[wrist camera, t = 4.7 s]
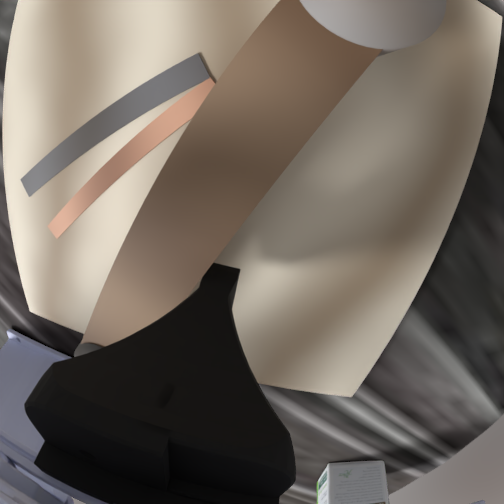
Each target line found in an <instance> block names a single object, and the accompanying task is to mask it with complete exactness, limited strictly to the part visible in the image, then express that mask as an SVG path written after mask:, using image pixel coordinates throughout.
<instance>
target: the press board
mask: <svg viewBox="0 0 504 504" xmlns="http://www.w3.org/2000/svg"><path fill="white" fill-rule="evenodd" d="M279 1H280V0H18V4H17V8H16V12H15V17H14V22H13V26H12V32H11V37H10V43H9V50H8V57H7V65H6V74H5V85H4V99H3V162H4V177H5V188H6V198H7V206H8V214H9V221H10V227H11V233H12V239H13V244H14V249H15V254H16V259H17V264H18V268H19V273H20V277H21V281H22V285H23V289H24V292H25V296H26V300H27V303H28V306H29V310H30V312H32V313H34V314H37V315H39V316H41V317H44V318H46V319H48V320H51V321H53V322H55V323H58V324H60V325H63V326H65V327H68V328H70V329H73V330H75V331H78V332H80V333H83V334H84V333H85V331H86V328H87V325H88V323H89V320H90V318H91V315H92V313H93V310H94V308H95V305H96V303H97V300H98V298H99V295H100V293H101V291H102V288H103V286H104V284H105V281H106V279H107V277H108V274H109V272H110V270H111V268H112V266H113V263H114V261H115V259H116V257H117V255H118V252H119V250H120V248H121V246H122V244H123V242H124V240H125V238H126V236H127V234H128V232H129V230H130V228H131V226H132V224H133V222H134V220H135V218H136V216H137V214H138V212H139V210H140V208H141V206H142V204H143V202H144V200H145V198H146V196H147V195H148V193H149V191H150V189H151V187H152V185H153V184H154V182H155V180H156V178H157V176H158V175H159V173H160V171H161V169H162V168H163V166H164V164H165V162H166V161H167V159H168V157H169V155H170V154H171V152H172V150H173V149H174V147H175V145H176V144H177V142H178V140H179V139H180V137H181V135H182V134H183V132H184V131H185V129H186V127H187V126H188V124H189V123H190V121H191V119H192V118H193V116H194V115H195V113H196V112H197V110H198V109H199V107H200V106H201V104H202V103H203V101H204V100H205V98H206V97H207V95H208V94H209V92H210V91H211V89H212V88H213V86H214V85H215V83H216V82H217V81H218V79H219V78H220V76H221V75H222V73H223V72H224V71H225V69H226V68H227V67H228V65H229V64H230V62H231V61H232V60H233V58H234V57H235V56H236V54H237V53H238V52H239V50H240V49H241V48H242V46H243V45H244V44H245V42H246V41H247V40H248V39H249V37H250V36H251V35H252V33H253V32H254V31H255V30H256V28H257V27H258V26H259V25H260V23H261V22H262V21H263V20H264V19H265V17H266V16H267V15H268V14H269V13H270V11H271V10H272V9H273V8H274V7H275V5H276V4H277V3H278V2H279ZM501 27H502V16H500V15H499V14H497V13H496V12H494V11H493V10H491V9H490V8H488V7H487V6H485V5H484V4H482V3H481V2H479V1H477V0H446V11H445V15H444V18H443V20H442V23H441V25H440V26H439V28H438V29H437V30H436V31H435V32H434V33H433V34H432V35H431V36H430V37H429V38H427V39H426V40H424V41H422V42H420V43H418V44H416V45H412V46H409V47H406V48H403V49H400V50H397V51H394V52H391V53H388V54H385V55H382V56H379V57H377V58H375V59H374V61H373V62H372V63H371V64H370V65H369V67H368V68H367V69H366V70H365V71H364V73H363V74H362V75H361V76H360V77H359V79H358V80H357V81H356V82H355V83H354V85H353V86H352V87H351V88H350V90H349V91H348V92H347V93H346V94H345V96H344V97H343V98H342V99H341V101H340V102H339V103H338V104H337V105H336V107H335V108H334V109H333V110H332V112H331V113H330V114H329V115H328V116H327V118H326V119H325V120H324V121H323V123H322V124H321V125H320V126H319V128H318V129H317V130H316V131H315V133H314V134H313V135H312V136H311V138H310V139H309V140H308V141H307V143H306V144H305V145H304V146H303V148H302V149H301V150H300V151H299V153H298V154H297V155H296V156H295V158H294V159H293V160H292V161H291V163H290V164H289V165H288V166H287V168H286V169H285V170H284V172H283V173H282V174H281V175H280V177H279V178H278V179H277V180H276V182H275V183H274V184H273V186H272V187H271V188H270V189H269V191H268V192H267V193H266V194H265V196H264V197H263V198H262V200H261V201H260V202H259V203H258V205H257V206H256V207H255V209H254V210H253V211H252V213H251V214H250V215H249V216H248V218H247V219H246V220H245V222H244V223H243V224H242V225H241V227H240V228H239V229H238V231H237V232H236V233H235V235H234V236H233V237H232V239H231V240H230V241H229V242H228V244H227V245H226V246H225V248H224V249H223V250H222V252H221V253H220V254H219V256H218V257H217V258H216V260H215V261H214V262H213V263H218V264H222V265H226V266H230V267H234V268H239V269H241V270H240V274H239V279H238V284H237V288H236V293H235V298H234V302H233V307H232V312H233V317H234V321H235V325H236V329H237V333H238V336H239V340H240V343H241V345H242V348H243V351H244V354H245V356H246V359H247V361H248V364H249V366H250V368H251V370H252V372H253V374H254V376H255V378H256V380H257V382H258V383H260V384H265V385H271V386H276V387H282V388H288V389H294V390H301V391H307V392H314V393H321V394H329V395H337V396H346V397H352V396H353V394H354V393H355V392H356V390H357V389H358V388H359V386H360V385H361V383H362V382H363V380H364V379H365V378H366V376H367V375H368V373H369V372H370V370H371V369H372V367H373V366H374V364H375V363H376V361H377V360H378V358H379V357H380V355H381V353H382V352H383V350H384V349H385V347H386V346H387V344H388V342H389V341H390V339H391V337H392V336H393V334H394V332H395V331H396V329H397V327H398V326H399V324H400V322H401V321H402V319H403V317H404V315H405V314H406V312H407V310H408V308H409V307H410V305H411V303H412V301H413V299H414V297H415V296H416V294H417V292H418V290H419V288H420V286H421V284H422V282H423V280H424V278H425V276H426V274H427V272H428V270H429V268H430V266H431V264H432V262H433V260H434V258H435V256H436V254H437V252H438V249H439V247H440V245H441V243H442V241H443V238H444V236H445V234H446V231H447V229H448V227H449V224H450V222H451V220H452V217H453V215H454V212H455V210H456V207H457V205H458V202H459V200H460V197H461V194H462V192H463V189H464V186H465V183H466V181H467V178H468V175H469V172H470V169H471V166H472V163H473V160H474V157H475V153H476V150H477V147H478V143H479V140H480V137H481V133H482V129H483V126H484V122H485V118H486V114H487V110H488V106H489V101H490V97H491V92H492V87H493V82H494V77H495V71H496V65H497V59H498V52H499V45H500V37H501ZM201 279H202V278H201ZM200 282H201V280H200V281H199V282H198V284H197V285H196V286H195V288H194V289H193V290H192V292H191V293H190V294H189V296H190V295H191V294H192V293H193V292H195V291H196V290H197V289H198V288H199V285H200ZM189 296H188V297H189ZM188 297H187V298H188ZM187 298H186V299H187Z"/></svg>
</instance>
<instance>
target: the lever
mask: <svg viewBox="0 0 504 504" xmlns="http://www.w3.org/2000/svg"><path fill="white" fill-rule="evenodd" d="M445 11H446V0H280V1H279V2H278V3H277V4H276V5H275V7H274V8H273V9H272V10H271V11H270V13H269V14H268V15H267V16H266V17H265V19H264V20H263V21H262V22H261V23H260V25H259V26H258V27H257V28H256V30H255V31H254V32H253V33H252V35H251V36H250V37H249V39H248V40H247V41H246V42H245V44H244V45H243V46H242V48H241V49H240V50H239V52H238V53H237V54H236V56H235V57H234V58H233V60H232V61H231V62H230V64H229V65H228V67H227V68H226V69H225V71H224V72H223V73H222V75H221V76H220V78H219V79H218V81H217V82H216V83H215V85H214V86H213V88H212V89H211V91H210V92H209V94H208V95H207V97H206V98H205V100H204V101H203V103H202V104H201V106H200V107H199V109H198V110H197V112H196V113H195V115H194V116H193V118H192V119H191V121H190V123H189V124H188V126H187V127H186V129H185V131H184V132H183V134H182V135H181V137H180V139H179V140H178V142H177V144H176V145H175V147H174V149H173V150H172V152H171V154H170V155H169V157H168V159H167V161H166V162H165V164H164V166H163V168H162V169H161V171H160V173H159V175H158V176H157V178H156V180H155V182H154V184H153V185H152V187H151V189H150V191H149V193H148V195H147V196H146V198H145V200H144V202H143V204H142V206H141V208H140V210H139V212H138V214H137V216H136V218H135V220H134V222H133V224H132V226H131V228H130V230H129V232H128V234H127V236H126V238H125V240H124V242H123V244H122V246H121V248H120V250H119V252H118V255H117V257H116V259H115V261H114V263H113V266H112V268H111V270H110V272H109V274H108V277H107V279H106V281H105V284H104V286H103V288H102V291H101V293H100V295H99V298H98V300H97V303H96V305H95V308H94V310H93V313H92V315H91V318H90V320H89V323H88V325H87V328H86V331H85V333H84V336H83V339H82V341H81V342H80V344H79V345H78V347H77V348H76V350H75V352H74V357H76V356H80V355H83V354H86V353H89V352H92V351H95V350H98V349H100V348H103V347H105V346H108V345H110V344H112V343H115V342H117V341H120V340H122V339H124V338H126V337H128V336H130V335H132V334H134V333H136V332H137V331H139V330H141V329H143V328H145V327H146V326H148V325H150V324H151V323H153V322H155V321H156V320H158V319H159V318H161V317H162V316H164V315H165V314H167V313H168V312H170V311H171V310H172V309H174V308H175V307H176V306H178V305H179V304H180V303H181V302H183V301H184V300H185V299H186V298H187V297H188V296H189V294H190V293H191V292H192V290H193V289H194V288H195V286H196V285H197V284H198V282H199V281H200V280H201V278H202V277H203V276H204V274H205V273H206V272H207V270H208V269H209V268H210V266H211V265H212V264H213V262H214V261H215V260H216V258H217V257H218V256H219V254H220V253H221V252H222V250H223V249H224V248H225V246H226V245H227V244H228V242H229V241H230V240H231V239H232V237H233V236H234V235H235V233H236V232H237V231H238V229H239V228H240V227H241V225H242V224H243V223H244V222H245V220H246V219H247V218H248V216H249V215H250V214H251V213H252V211H253V210H254V209H255V207H256V206H257V205H258V203H259V202H260V201H261V200H262V198H263V197H264V196H265V194H266V193H267V192H268V191H269V189H270V188H271V187H272V186H273V184H274V183H275V182H276V180H277V179H278V178H279V177H280V175H281V174H282V173H283V172H284V170H285V169H286V168H287V166H288V165H289V164H290V163H291V161H292V160H293V159H294V158H295V156H296V155H297V154H298V153H299V151H300V150H301V149H302V148H303V146H304V145H305V144H306V143H307V141H308V140H309V139H310V138H311V136H312V135H313V134H314V133H315V131H316V130H317V129H318V128H319V126H320V125H321V124H322V123H323V121H324V120H325V119H326V118H327V116H328V115H329V114H330V113H331V112H332V110H333V109H334V108H335V107H336V105H337V104H338V103H339V102H340V101H341V99H342V98H343V97H344V96H345V94H346V93H347V92H348V91H349V90H350V88H351V87H352V86H353V85H354V83H355V82H356V81H357V80H358V79H359V77H360V76H361V75H362V74H363V73H364V71H365V70H366V69H367V68H368V67H369V65H370V64H371V63H372V62H373V61H374V59H375V58H377V57H379V56H382V55H385V54H388V53H391V52H394V51H397V50H400V49H403V48H406V47H409V46H412V45H416V44H418V43H420V42H422V41H424V40H426V39H427V38H429V37H430V36H431V35H432V34H433V33H434V32H435V31H436V30H437V29H438V28H439V26H440V25H441V23H442V20H443V18H444V15H445Z"/></svg>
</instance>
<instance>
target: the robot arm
mask: <svg viewBox="0 0 504 504" xmlns="http://www.w3.org/2000/svg"><path fill="white" fill-rule="evenodd" d="M240 270H241V269H239V268H234V267H230V266H226V265H222V264H218V263H213V264H212V265H211V266H210V268H209V269H208V270H207V272H206V273H205V274H204V276H203V277H202V279H201V282H200V285H199V288H198V289H197V290H196V291H195V292H193V293H192V294H191V295H190V296H189V297H188V298H187V299H185V300H184V301H183V302H181V303H180V304H179V305H178V306H176V307H175V308H174V309H172V310H171V311H170V312H168V313H167V314H165V315H164V316H162V317H161V318H159V319H158V320H156V321H155V322H153V323H151V324H150V325H148V326H146V327H145V328H143V329H141V330H139V331H137V332H136V333H134V334H132V335H130V336H128V337H126V338H124V339H122V340H120V341H117V342H115V343H112V344H110V345H108V346H105V347H103V348H100V349H98V350H95V351H92V352H89V353H86V354H83V355H80V356H76V357H73V358H72V357H69V356H67V355H65V354H62V353H60V352H58V351H56V350H53V349H51V348H49V347H47V346H45V345H43V344H40V343H38V342H36V341H34V340H32V339H30V338H28V337H26V336H24V335H22V334H20V333H18V332H16V331H14V330H12V329H8V331H7V335H8V337H9V340H8V341H7V342H6V343H5V345H4V346H3V347H2V348H1V350H0V504H74V502H73V499H72V498H71V497H73V498H75V499H77V500H79V501H82V502H84V503H86V504H279V496H280V495H282V494H283V493H284V492H285V491H286V490H288V489H289V488H290V487H291V486H292V485H293V483H294V482H295V479H296V466H295V456H294V450H293V445H292V441H291V437H290V433H289V432H288V430H287V429H286V427H285V426H284V425H283V423H282V422H281V421H280V419H279V418H278V416H277V415H276V413H275V412H274V410H273V409H272V407H271V405H270V404H269V402H268V400H267V399H266V397H265V395H264V394H263V392H262V390H261V388H260V386H259V384H258V382H257V380H256V378H255V376H254V374H253V372H252V370H251V368H250V366H249V364H248V361H247V359H246V356H245V354H244V351H243V348H242V345H241V343H240V340H239V336H238V333H237V329H236V325H235V321H234V317H233V312H232V307H233V302H234V298H235V293H236V288H237V284H238V279H239V274H240ZM70 496H71V497H70ZM471 504H485V501H484V500H481V501H478V502H474V503H471Z"/></svg>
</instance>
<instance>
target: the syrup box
mask: <svg viewBox="0 0 504 504" xmlns="http://www.w3.org/2000/svg"><path fill="white" fill-rule="evenodd" d="M317 504H389V498H388V486H387V478H386V471H385V463H384V461H381V460H380V461H357V462H340V463H328V465H327V467H326V469H325V470H324V472H323V473H322V475H321V477H320V478H319V480H318V482H317Z"/></svg>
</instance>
